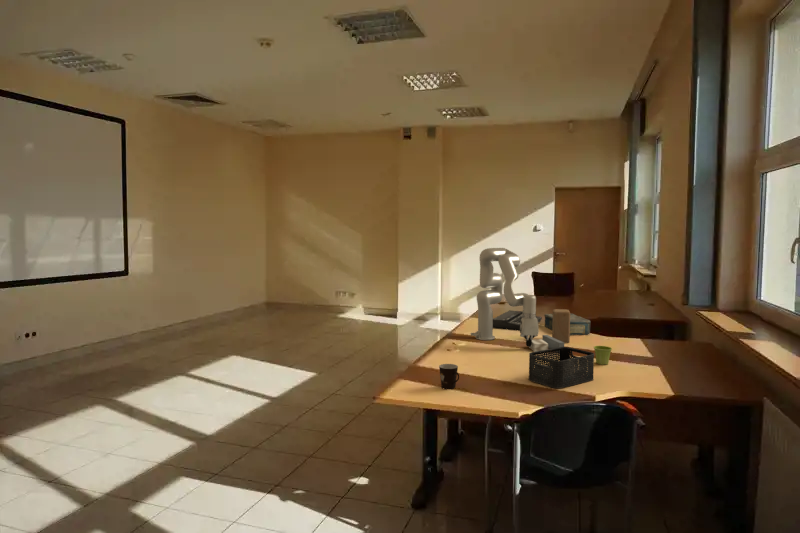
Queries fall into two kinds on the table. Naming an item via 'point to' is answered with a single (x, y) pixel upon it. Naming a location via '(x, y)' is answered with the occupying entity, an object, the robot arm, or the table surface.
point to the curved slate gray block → (552, 342)
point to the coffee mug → (448, 375)
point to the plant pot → (602, 354)
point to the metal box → (572, 324)
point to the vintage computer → (510, 320)
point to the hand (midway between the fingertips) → (528, 346)
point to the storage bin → (560, 367)
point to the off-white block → (539, 345)
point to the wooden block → (561, 325)
